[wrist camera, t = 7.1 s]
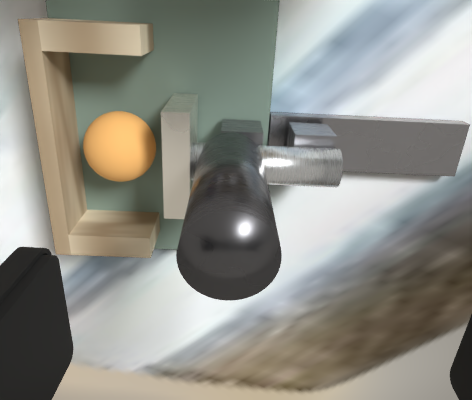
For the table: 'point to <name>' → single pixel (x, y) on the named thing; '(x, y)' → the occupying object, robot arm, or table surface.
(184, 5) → the mat
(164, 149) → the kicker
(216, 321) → the table surface
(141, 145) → the ball
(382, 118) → the track
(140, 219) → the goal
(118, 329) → the table surface
